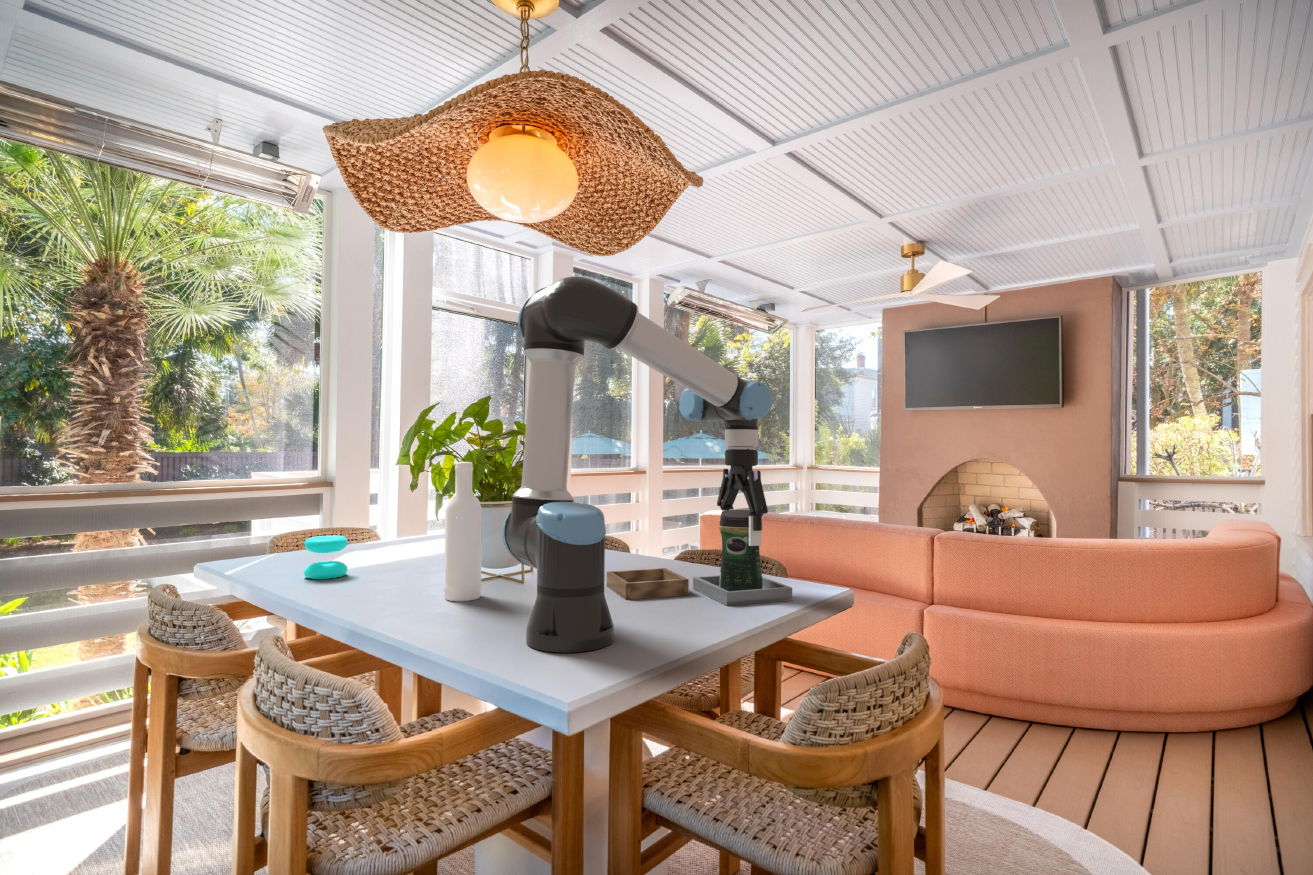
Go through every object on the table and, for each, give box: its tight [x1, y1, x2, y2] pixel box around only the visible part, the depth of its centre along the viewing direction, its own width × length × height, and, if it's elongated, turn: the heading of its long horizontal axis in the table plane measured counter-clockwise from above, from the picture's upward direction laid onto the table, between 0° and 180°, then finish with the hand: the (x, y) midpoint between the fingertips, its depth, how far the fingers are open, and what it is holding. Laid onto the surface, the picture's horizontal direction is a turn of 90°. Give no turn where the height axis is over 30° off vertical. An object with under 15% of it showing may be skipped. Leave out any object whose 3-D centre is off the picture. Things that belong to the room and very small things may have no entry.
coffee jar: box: [718, 509, 763, 591], centre depth 154 cm, size 10×8×19 cm
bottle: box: [443, 461, 483, 602], centre depth 149 cm, size 8×8×30 cm
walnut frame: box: [606, 567, 690, 600], centre depth 158 cm, size 15×15×4 cm
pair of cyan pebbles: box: [303, 535, 349, 580], centre depth 172 cm, size 10×10×10 cm
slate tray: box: [692, 574, 793, 607], centre depth 154 cm, size 16×18×3 cm
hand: (740, 541), depth 154 cm, fingers open, 13 cm apart
